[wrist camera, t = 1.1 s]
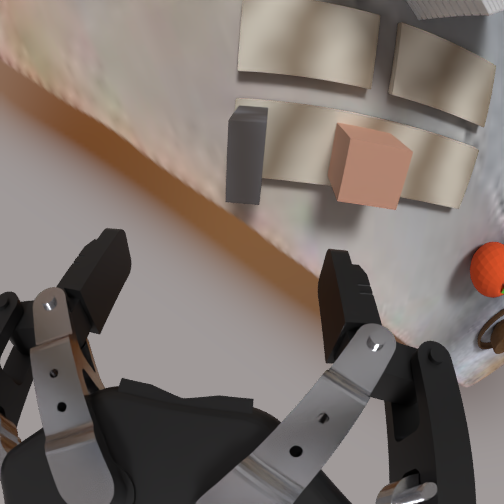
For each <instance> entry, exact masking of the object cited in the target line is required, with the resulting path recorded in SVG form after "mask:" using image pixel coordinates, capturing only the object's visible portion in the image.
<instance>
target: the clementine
mask: <svg viewBox="0 0 504 504" xmlns="http://www.w3.org/2000/svg"><path fill="white" fill-rule="evenodd" d="M470 275H471V280H472V282H473V285H474V287H475V288H476V289H477V291H478V292H480V293H481V294H483V295H484V296H487V297H492V298H494V297H499V296H502V295H504V245H503V244H501V243H499V242H489V243H486V244H484V245H482V246H481V247H480V248H479V249H478V250H477V251H476V252H475V254H474V255H473V258H472V261H471V266H470Z"/></svg>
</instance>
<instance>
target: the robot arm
mask: <svg viewBox="0 0 504 504" xmlns="http://www.w3.org/2000/svg"><path fill="white" fill-rule="evenodd" d="M130 270H131V257H130V253H129V248H128V243H127V238H126V234H125V232H124V230H122V229H110V228H106V229H105V230H104V231H103V232H102V233H101V235H100V236H99V238H98V239H97V240H95V239H94V240H93V241H92V242H90V243H89V244H87V245H86V246H85V247H84V248H83V250H82V251H81V253H80V254H79V257H77V258H76V259H75V261H74V264H72V265H71V267H70V268H69V269H68V271H67V272H66V273H65V275H64V276H63V278H62V279H61V281H60V282H59V284H58V285H57V287H52V288H48V289H45V290H43V291H42V292H40V293H39V294H38V295H37V297H36V298H35V300H34V301H24V302H20V300H19V299H18V297H17V295H16V294H15V293H14V292H5V293H3V294H1V295H0V358H1V355H2V353H3V351H4V349H5V347H6V345H7V343H8V341H9V340H10V341H11V342H12V344H13V345H14V346H13V348H12V350H11V353H10V355H9V357H8V359H7V361H6V363H5V366H4V368H3V369H2V368H1V366H0V481H1V484H2V489H3V494H4V500H5V504H352V503H351V502H350V501H349V500H348V499H347V498H346V497H345V496H344V495H343V494H342V492H340V490H339V489H338V488H337V487H336V486H335V485H334V483H333V482H332V481H331V480H330V479H329V478H328V477H327V476H326V474H325V473H324V472H323V471H322V470H321V468H322V467H323V466H324V464H325V463H326V462H327V460H328V459H329V458H330V457H331V455H332V454H333V453H334V451H335V450H336V449H337V447H338V446H339V445H340V443H341V442H342V440H343V439H344V437H345V436H346V435H347V433H348V432H349V430H350V429H351V427H352V426H353V425H354V423H355V422H356V420H357V418H358V417H359V415H360V414H361V412H362V411H363V409H364V408H365V406H366V405H367V403H368V401H369V399H370V397H373V398H377V399H380V400H384V402H385V413H386V424H387V436H388V453H389V480H390V484H388V485H386V486H385V487H384V488H383V489H382V490H381V491H380V492H379V494H378V496H377V499H376V504H476V494H475V479H474V469H473V460H472V452H471V445H470V439H469V433H468V427H467V422H466V417H465V413H464V407H463V403H462V398H461V394H460V390H459V386H458V382H457V378H456V374H455V370H454V367H453V363H452V360H451V357H450V354H449V352H448V351H447V349H446V348H445V347H444V346H442V345H441V344H439V343H437V342H434V341H427V342H424V343H423V344H421V345H420V347H419V348H418V349H417V348H413V347H410V346H406V345H403V344H400V343H398V342H396V341H395V338H394V336H393V334H392V333H391V332H390V331H389V330H388V329H387V328H385V327H384V326H382V324H381V320H380V317H379V313H378V310H377V306H376V303H375V299H374V296H373V295H372V289H371V287H370V283H369V280H368V277H367V274H366V273H365V272H364V270H363V269H362V268H361V267H360V266H359V265H354V264H352V263H351V259H350V256H349V253H348V251H345V250H335V249H328V250H327V253H326V256H325V260H324V263H323V267H322V270H321V274H320V278H319V282H318V299H319V306H320V315H321V323H322V332H323V341H324V351H325V361H326V363H334V364H333V365H332V366H331V368H330V369H329V370H326V371H325V372H324V373H323V375H322V376H321V377H320V378H319V379H318V381H317V382H316V383H315V384H314V386H313V387H312V388H311V389H310V391H309V392H308V393H307V394H306V395H305V396H304V397H303V399H302V400H301V401H300V402H299V403H298V404H297V406H296V407H295V408H294V409H293V410H292V411H291V412H290V414H289V415H288V416H287V417H286V418H285V419H284V420H283V421H282V422H280V421H279V420H278V419H276V418H275V417H273V416H272V415H270V414H268V413H267V412H264V411H262V410H260V409H257V408H254V407H253V399H247V398H237V397H228V396H209V397H198V398H180V397H178V396H175V395H173V394H171V393H169V392H166V391H164V390H162V389H160V388H158V387H156V386H153V385H151V384H146V383H142V382H137V381H133V380H128V379H124V378H122V379H121V382H120V385H119V386H116V387H109V388H105V387H104V385H103V383H102V381H101V379H100V376H99V373H98V370H97V367H96V364H95V361H94V358H93V354H92V351H91V347H90V344H89V341H88V339H87V337H88V334H89V332H92V333H96V334H100V333H101V331H102V329H103V326H104V324H105V322H106V320H107V318H108V316H109V314H110V312H111V310H112V307H113V305H114V303H115V301H116V299H117V297H118V295H119V293H120V291H121V289H122V287H123V285H124V283H125V281H126V280H127V278H128V276H129V274H130ZM33 380H34V386H35V391H36V397H37V402H38V407H39V412H40V416H41V420H42V425H43V428H42V429H40V430H39V431H37V432H36V433H34V434H33V435H31V436H30V437H28V438H27V439H25V440H24V441H23V442H21V439H20V438H19V437H18V432H17V424H18V421H19V418H20V415H21V412H22V409H23V406H24V403H25V400H26V397H27V395H28V392H29V389H30V386H31V384H32V381H33Z"/></svg>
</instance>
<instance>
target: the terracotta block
mask: <svg viewBox="0 0 504 504" xmlns="http://www.w3.org/2000/svg"><path fill="white" fill-rule="evenodd" d="M412 154H413V151H411V150H410V149H409V148H408V147H407V146H405V145H404V144H403V143H402V142H401V141H399V140H398V139H397V138H396V137H394V136H393V135H392V134H391V133H387V132H382V131H378V130H373V129H369V128H364V127H359V126H354V125H348V124H343V123H337V125H336V131H335V137H334V143H333V148H332V154H331V159H330V165H329V170H328V178H329V181H330V183H331V186H332V188H333V191H334V194H335V196H336V199H337V201H339V202H346V203H354V204H361V205H367V206H374V207H380V208H387V209H393V210H396V208H397V205H398V202H399V199H400V196H401V192H402V189H403V186H404V183H405V179H406V176H407V172H408V169H409V165H410V162H411V158H412Z"/></svg>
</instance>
